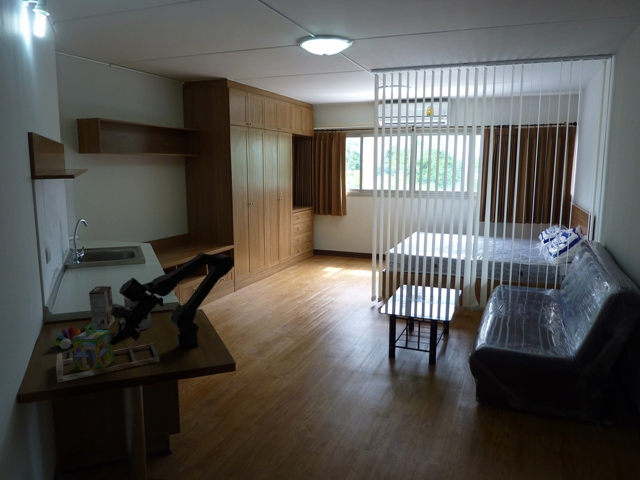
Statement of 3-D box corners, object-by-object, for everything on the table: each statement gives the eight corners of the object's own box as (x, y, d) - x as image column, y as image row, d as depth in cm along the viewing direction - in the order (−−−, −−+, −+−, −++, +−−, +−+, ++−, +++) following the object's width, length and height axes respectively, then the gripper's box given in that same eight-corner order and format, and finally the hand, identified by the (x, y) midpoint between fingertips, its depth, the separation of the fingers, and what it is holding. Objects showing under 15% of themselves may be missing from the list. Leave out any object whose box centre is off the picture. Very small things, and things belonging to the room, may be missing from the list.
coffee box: (99, 322, 207) (96, 286, 204) (115, 321, 208) (111, 285, 205) (92, 329, 198) (88, 292, 195) (108, 328, 199) (104, 291, 196)
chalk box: (100, 372, 159) (95, 330, 156) (74, 371, 160) (69, 329, 158) (115, 360, 168) (111, 320, 165) (91, 359, 169) (87, 319, 167)
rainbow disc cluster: (86, 344, 183) (84, 326, 182) (59, 352, 176) (57, 333, 175) (78, 339, 189) (76, 321, 187) (51, 346, 182) (49, 328, 180)
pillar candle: (133, 322, 205) (130, 289, 202) (155, 323, 204) (152, 289, 201) (122, 331, 196) (118, 296, 193) (145, 331, 195) (141, 296, 192)
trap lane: (149, 337, 189) (148, 327, 188) (159, 361, 167) (158, 350, 166) (59, 353, 175) (57, 343, 174) (57, 382, 152) (56, 370, 152)
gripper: (121, 289, 173) (90, 323, 170) (126, 302, 156) (93, 340, 153) (145, 306, 178) (116, 339, 175) (153, 321, 161) (121, 358, 158)
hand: (111, 344), depth 165 cm, fingers closed
